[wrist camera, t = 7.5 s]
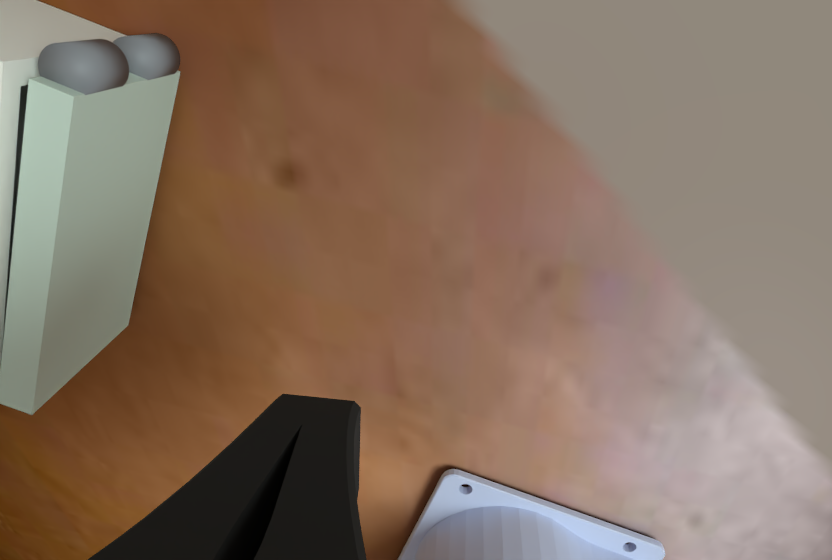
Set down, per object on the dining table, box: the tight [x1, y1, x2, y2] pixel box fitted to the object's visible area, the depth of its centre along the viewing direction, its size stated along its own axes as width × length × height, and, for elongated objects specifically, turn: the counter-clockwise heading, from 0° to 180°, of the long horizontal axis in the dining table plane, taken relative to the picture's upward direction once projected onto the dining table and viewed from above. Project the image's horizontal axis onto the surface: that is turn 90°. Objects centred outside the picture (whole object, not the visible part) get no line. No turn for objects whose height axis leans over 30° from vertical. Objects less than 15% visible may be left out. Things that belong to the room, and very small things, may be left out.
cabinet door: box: [0, 33, 180, 415], centre depth 17 cm, size 1×10×5 cm, turn 159°
